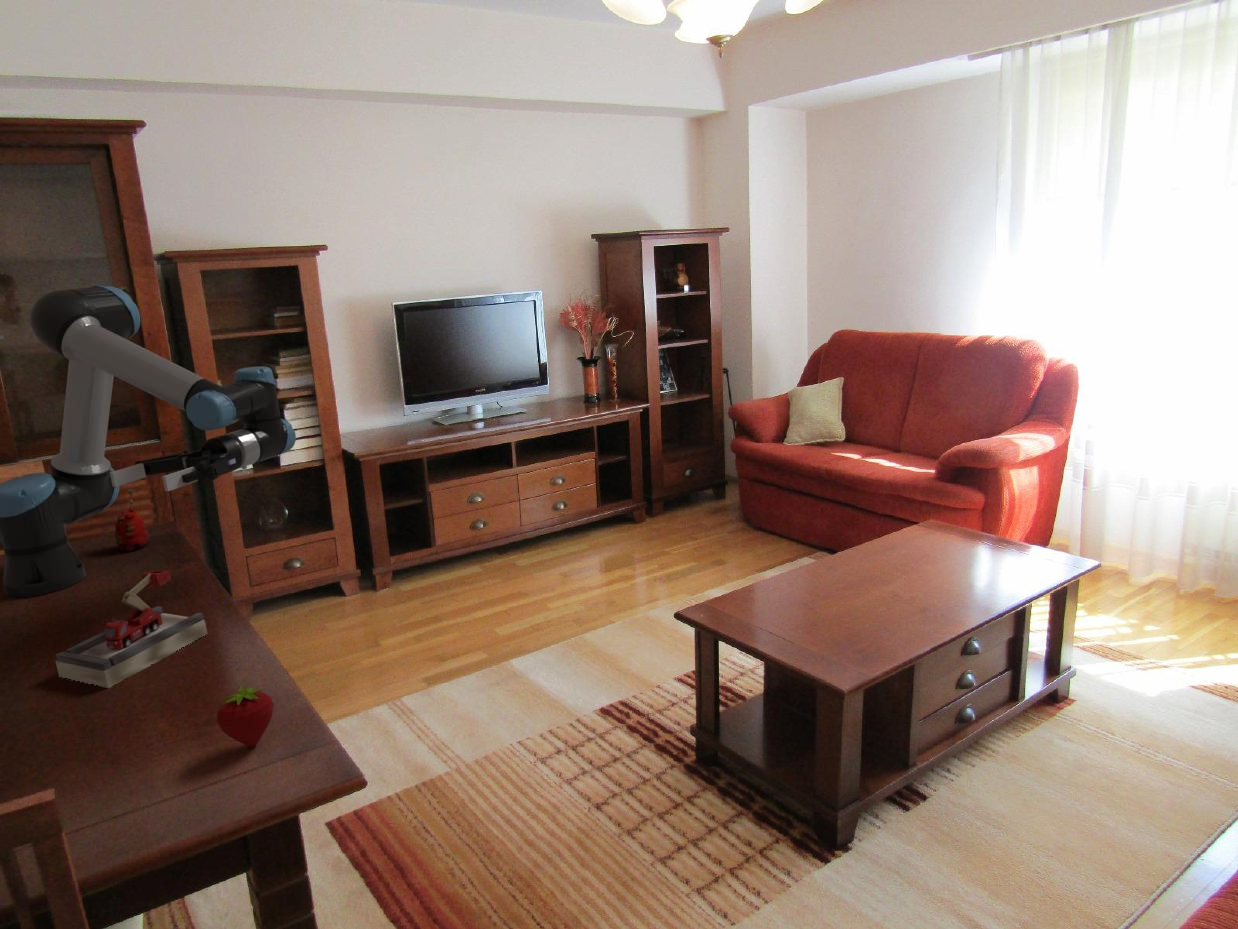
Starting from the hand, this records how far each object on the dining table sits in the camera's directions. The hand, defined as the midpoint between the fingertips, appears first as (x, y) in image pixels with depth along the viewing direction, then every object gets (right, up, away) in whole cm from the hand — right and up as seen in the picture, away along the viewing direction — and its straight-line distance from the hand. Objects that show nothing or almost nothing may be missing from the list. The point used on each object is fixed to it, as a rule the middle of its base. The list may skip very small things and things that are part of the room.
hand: (138, 481), depth 159 cm
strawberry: (+36, -37, -36) cm, 62 cm away
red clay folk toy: (-30, -17, +52) cm, 62 cm away
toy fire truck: (+3, -27, -4) cm, 27 cm away
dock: (+3, -30, -5) cm, 31 cm away
